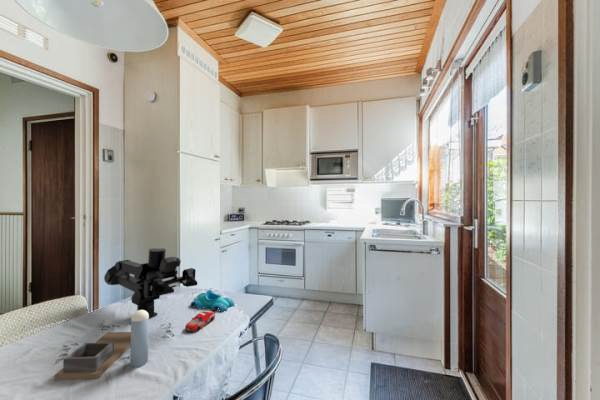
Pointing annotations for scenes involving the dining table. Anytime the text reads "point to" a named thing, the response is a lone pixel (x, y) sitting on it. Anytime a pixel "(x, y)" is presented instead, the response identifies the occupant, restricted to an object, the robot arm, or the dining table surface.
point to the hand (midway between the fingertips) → (185, 287)
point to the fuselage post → (139, 338)
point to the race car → (200, 321)
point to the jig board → (94, 357)
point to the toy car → (212, 301)
